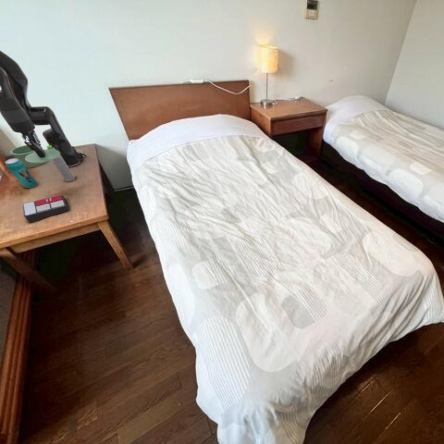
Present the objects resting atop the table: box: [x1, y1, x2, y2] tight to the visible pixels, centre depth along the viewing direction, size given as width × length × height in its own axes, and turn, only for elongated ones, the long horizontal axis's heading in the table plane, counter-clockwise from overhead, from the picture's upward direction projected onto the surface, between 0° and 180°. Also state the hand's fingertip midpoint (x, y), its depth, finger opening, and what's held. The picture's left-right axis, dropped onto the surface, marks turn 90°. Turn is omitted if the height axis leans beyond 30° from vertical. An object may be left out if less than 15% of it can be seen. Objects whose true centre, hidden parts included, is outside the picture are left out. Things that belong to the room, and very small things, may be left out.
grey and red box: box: [22, 194, 70, 223], centre depth 119 cm, size 11×4×15 cm
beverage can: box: [4, 157, 38, 189], centre depth 128 cm, size 6×6×15 cm
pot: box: [9, 144, 45, 169], centre depth 146 cm, size 12×12×8 cm
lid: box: [25, 146, 60, 164], centre depth 116 cm, size 13×13×6 cm
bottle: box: [46, 144, 76, 182], centre depth 133 cm, size 4×4×20 cm
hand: (42, 155), depth 117 cm, fingers closed on lid, 2 cm apart
